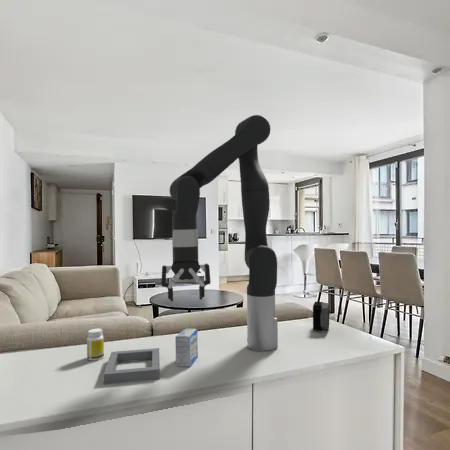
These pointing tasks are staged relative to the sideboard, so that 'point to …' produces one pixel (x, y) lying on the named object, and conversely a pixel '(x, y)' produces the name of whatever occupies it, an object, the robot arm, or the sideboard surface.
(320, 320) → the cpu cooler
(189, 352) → the medicine box
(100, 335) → the supplement bottle
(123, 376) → the block
